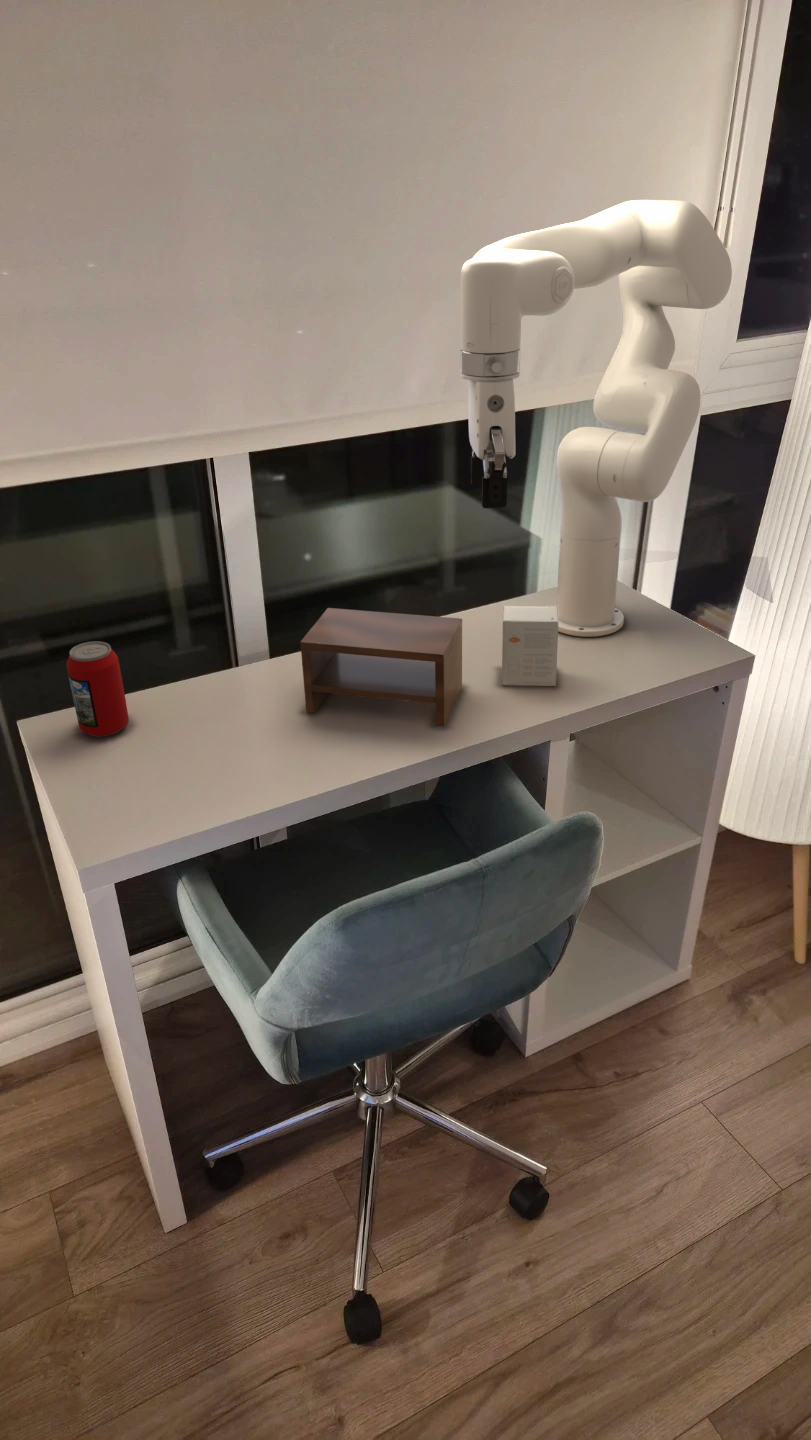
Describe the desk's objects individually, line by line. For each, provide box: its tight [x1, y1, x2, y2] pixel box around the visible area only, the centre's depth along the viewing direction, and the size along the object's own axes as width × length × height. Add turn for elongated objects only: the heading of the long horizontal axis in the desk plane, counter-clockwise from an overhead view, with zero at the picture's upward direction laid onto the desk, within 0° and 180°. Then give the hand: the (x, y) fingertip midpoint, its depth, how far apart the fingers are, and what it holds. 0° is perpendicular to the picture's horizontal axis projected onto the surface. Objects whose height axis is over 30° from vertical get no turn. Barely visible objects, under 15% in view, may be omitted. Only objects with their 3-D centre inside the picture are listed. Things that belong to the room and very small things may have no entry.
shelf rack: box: [300, 607, 463, 728], centre depth 146 cm, size 12×20×11 cm, turn 76°
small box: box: [501, 605, 559, 687], centre depth 151 cm, size 8×6×10 cm
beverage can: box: [65, 640, 130, 738], centre depth 141 cm, size 7×7×12 cm
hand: (488, 496), depth 140 cm, fingers open, 9 cm apart
